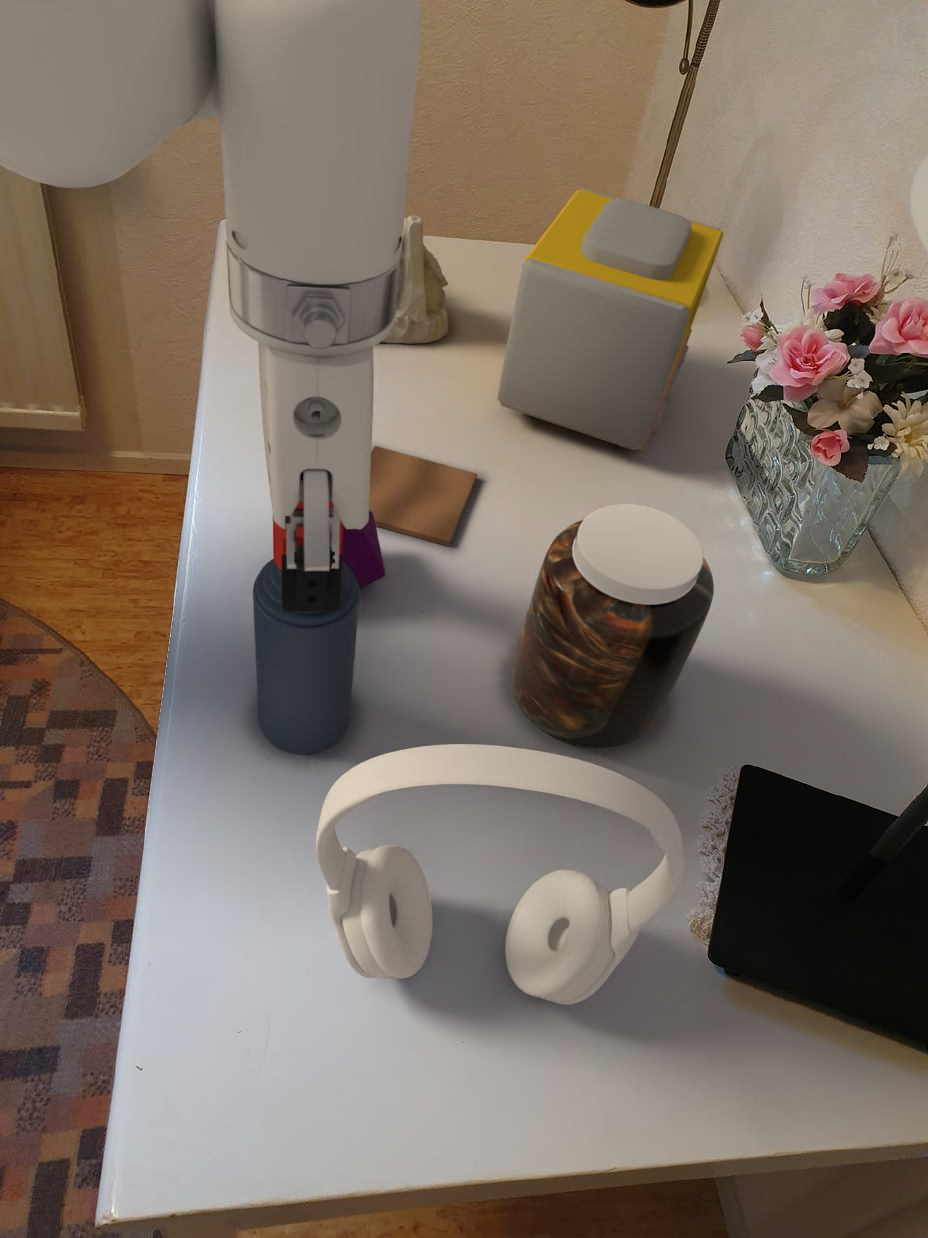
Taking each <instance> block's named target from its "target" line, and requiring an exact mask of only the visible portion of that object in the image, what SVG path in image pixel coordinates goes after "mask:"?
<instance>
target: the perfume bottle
mask: <svg viewBox="0 0 928 1238" xmlns="http://www.w3.org/2000/svg"><path fill="white" fill-rule="evenodd" d="M342 562H344V563H345V564H346V565H347V566H348V567H349V568H350V570H351V571H352V573H353V574H354V576H355V578H356V580H357V582H358V585H359V590H360V591H361V590H362V589H364V588H366V587H368V586H370V585H371V584H374V583H375V582H378V581H379V580H381V579H384V578H385V577H386V573H387V572H386V568H385V563H384V557H383V554H382V549H381V545H380V539H379V534H378V531H377V526H376V525H375V521H374V516H373V513H372V512H371V511H370V510H369V521H368V523H367V524H366V525H365V526H364V527H363V528H362V529H358V530H357V529H346V528H345V526H344V525H343V545H342Z"/></svg>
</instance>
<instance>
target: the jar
mask: <svg viewBox="0 0 928 1238" xmlns="http://www.w3.org/2000/svg"><path fill="white" fill-rule="evenodd" d="M714 585H715V584H714V577H713V573H712V571H711V568H710V566H709V563H708V562H707V561H706V559H705V558H704V550H703V547H702V545H701V542H700V540H699V539H698V537H697V535H696V534H695V532H693V530H691V529H690V528H689V526H687V525H686V524H685V523H684V522H683V521H681V520H680V519H678V518H676V516H674V515H672V514H670V513H667V512H665V511H663V510H661V509H657V508H654V507H651V506H646V505H642V504H635V503H634V504H633V503H617V504H610V505H607V506H603V507H600V508H598V509H595V510H594V511H592V512H590V513H589V514H588V515H586V517H585V518H584V519H581V520H578V521H576V522H573V523H572V524H570V525H569V526H567V527H566V528H565V529H563V530H562V531H561V532H560V533H558V534H557V536H555V538H554V539H553V540H552V542H551V543H550V545H549V547H548V549H547V551H546V553H545V555H544V559H543V561H542V564H541V567H540V569H539V573H538V575H537V579H536V583H535V585H534V589H533V592H532V596H531V599H530V603H529V606H528V610H527V613H526V615H525V620H524V623H523V627H522V630H521V634H520V638H519V642H518V645H517V649H516V653H515V656H514V659H513V660H514V661H513V665H512V669H511V688H512V692H513V695H514V698H515V700H516V702H517V704H518V706H519V708H520V709H521V711H522V712H523V713H524V715H525V716H526V717H527V718H528V720H530V721H531V722H532V723H533V724H534V725H535V726H537V727H538V728H539V729H541V730H542V731H543V732H545V733H546V734H549V735H550V736H552V737H554V738H556V739H558V740H561V741H563V742H566V743H569V744H572V745H577V746H580V747H588V748H611V747H617V746H621V745H625V744H628V743H630V742H633V741H635V740H637V739H638V738H640V737H642V736H643V735H644V734H646V733H648V731H649V730H650V729H651V728H652V727H653V726H654V725H655V723H656V722H657V721H658V719H659V717H660V715H661V713H662V711H663V709H664V707H665V705H666V704H667V701H668V699H669V697H670V696H671V693H672V692H673V690H674V688H675V686H676V684H677V681H678V679H679V678H680V675H681V673H682V671H683V669H684V667H685V665H686V663H687V662H688V661H687V660H689V659H688V658H689V657H690V655H691V652H692V650H693V648H694V646H695V644H696V642H697V639H698V637H699V636H700V633H701V632H702V631H701V630H702V628H703V627H704V624H705V621H706V619H707V616H708V614H709V611H710V609H711V606H712V603H713V598H714V595H715V593H714V592H715V586H714Z"/></svg>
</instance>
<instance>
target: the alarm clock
mask: <svg viewBox="0 0 928 1238" xmlns="http://www.w3.org/2000/svg"><path fill="white" fill-rule="evenodd" d="M723 237H724V231H723V230H721V229H720V228H719V227H716V226H713V225H709V224H705V223H702V222H699V221H696V220H692V219H689V218H687V217H685V216H682V215H680V214H678V213H675V212H672V211H668V210H665V209H661V208H658V207H654V206H651V205H647V204H645V203H641V202H637V201H634V200H630V199H626V198H618V197H614V196H611V195H609V194H608V195H607V194H604V193H601V192H597V191H594V190H591V189H588V188H585V187H584V188H579V189H578V190H576V191H575V192H574V193H573V194H572V196H571V197H570V198H569V200H568V201H567V202H566V204H565V205H564V206H563V208H562V209H561V211H559V213H558V214H557V216H556V217H555V219H554V220H553V221H552V222H551V224H550V225H549V227H548V228H546V230H545V231H544V233H543V234H542V235H541V237H540V238H539V240H538V241H537V242H536V244H535V245H534V246H533V248H532V249H531V250H530V251H529V252H528V254H527V256H526V257H525V258H524V262H522V267H521V272H520V277H519V282H518V287H517V293H516V298H515V302H514V307H513V313H512V317H511V318H512V319H511V322H510V323H511V324H510V328H509V332H508V338H507V342H506V348H505V353H504V357H503V364H502V367H501V374H500V379H499V385H498V390H497V396H496V398H497V400H498V402H499V404H500V405H501V406H502V407H504V408H507V409H510V410H511V411H512V410H513V411H515V412H519V413H520V414H521V415H523V416H531V417H533V418H536V419H539V420H542V421H545V422H549V423H551V424H554V425H557V426H560V427H564V428H567V429H569V430H573V431H575V432H578V433H581V434H584V435H587V436H590V437H593V438H596V439H599V440H602V441H605V442H608V443H610V444H613V445H614V444H615V445H618V447H620V448H622V449H623V448H626V449H629V450H633V451H637V450H640V449H641V450H643V451H644V450H647V448H648V446H649V443H650V440H651V438H652V435H653V433H654V434H656V433H657V431H658V428H659V425H660V423H661V420H662V418H663V415H664V413H665V411H666V407H667V406H668V403H669V400H670V398H671V396H672V393H673V390H674V387H675V385H676V382H677V380H678V377H679V374H680V373H681V370H682V367H683V364H684V362H685V359H686V357H687V354H688V351H689V348H690V345H688V343H689V340H690V337H691V335H692V331H693V330H692V326H693V323H694V322H695V318H696V315H697V312H698V309H699V306H700V303H701V300H702V299H703V298H702V297H703V295H704V292H705V288H706V286H707V283H708V280H709V277H710V274H711V271H712V268H713V266H714V263H715V260H716V258H717V254H718V251H719V249H720V246H721V242H722V240H723Z"/></svg>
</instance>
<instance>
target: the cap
mask: <svg viewBox="0 0 928 1238" xmlns="http://www.w3.org/2000/svg"><path fill="white" fill-rule="evenodd" d="M296 508H303V502H299V503H298V505H297V506H296ZM329 508H332V502H329ZM342 545H343V523H342V521H340V547H339V554H342ZM297 546H303V527H297ZM272 548H273V549H272V550H273V551H272V553H273V555H272V559H274V561H275V563H276V565H277V566H278V567H279V569H280V570H281V571H282V555H286V525H285V529H283V528H281V527H280V526H278V525H277V524H276V523H275V521H274V518H273V517H272Z"/></svg>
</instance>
